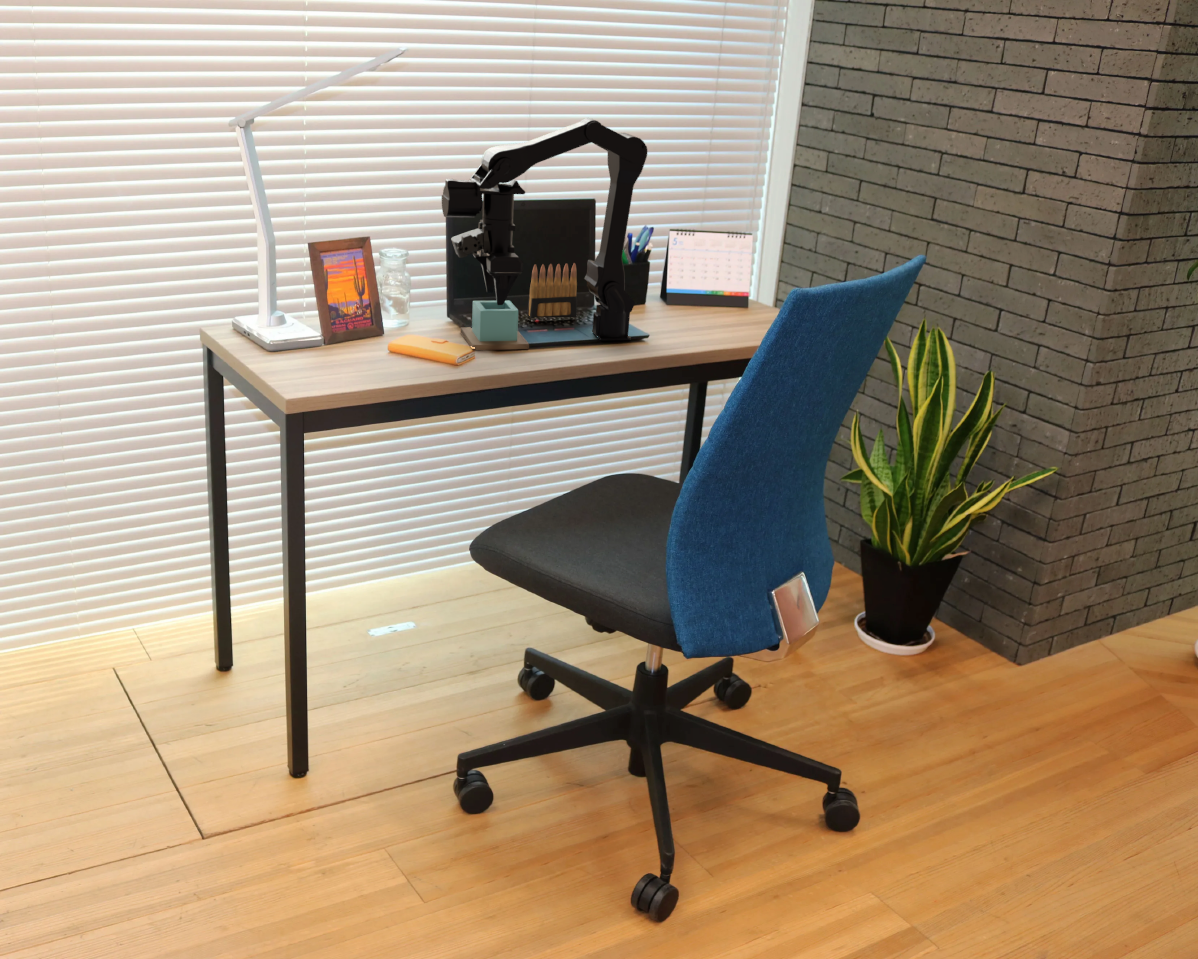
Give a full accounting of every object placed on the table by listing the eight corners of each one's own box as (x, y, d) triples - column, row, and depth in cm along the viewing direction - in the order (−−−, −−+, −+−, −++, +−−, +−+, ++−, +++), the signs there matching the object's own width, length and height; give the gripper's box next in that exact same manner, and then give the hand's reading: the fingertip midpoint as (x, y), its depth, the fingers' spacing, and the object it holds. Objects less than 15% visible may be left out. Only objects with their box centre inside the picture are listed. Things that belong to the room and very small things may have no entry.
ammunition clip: (529, 322, 239) (532, 265, 234) (526, 320, 240) (529, 263, 236) (576, 320, 243) (580, 264, 239) (573, 317, 245) (576, 261, 240)
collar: (508, 329, 229) (509, 300, 227) (517, 340, 223) (518, 310, 220) (471, 330, 227) (472, 300, 224) (479, 341, 220) (480, 310, 218)
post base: (514, 331, 232) (515, 302, 230) (528, 348, 221) (530, 318, 219) (460, 332, 229) (461, 302, 226) (472, 350, 218) (473, 319, 216)
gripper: (446, 207, 221) (444, 286, 227) (465, 226, 205) (462, 312, 211) (502, 208, 225) (499, 286, 231) (525, 227, 208) (521, 311, 214)
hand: (494, 298), depth 222 cm, fingers open, 9 cm apart
